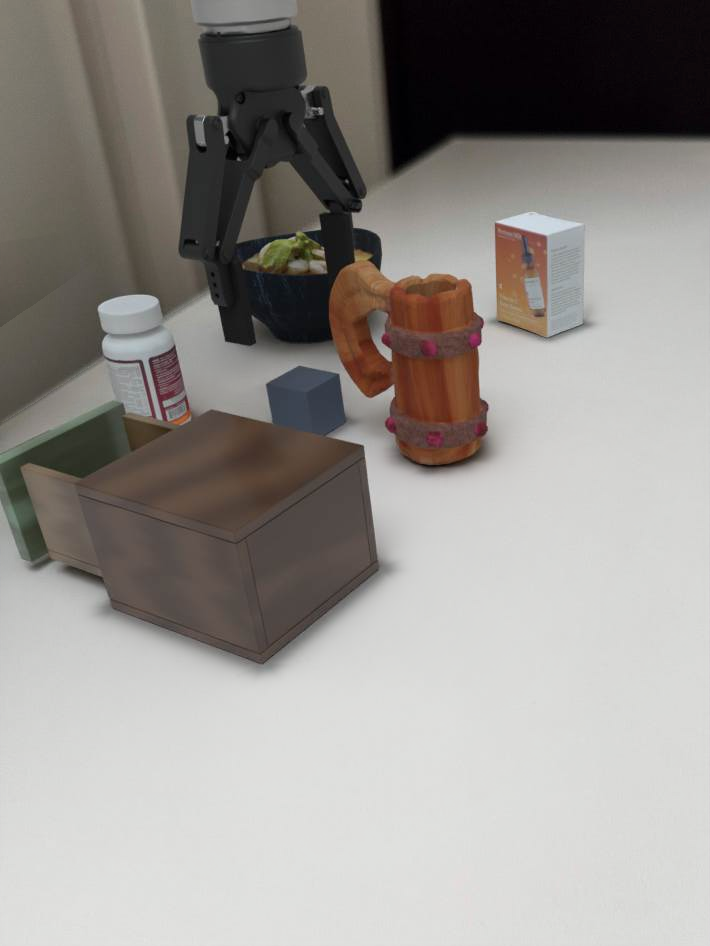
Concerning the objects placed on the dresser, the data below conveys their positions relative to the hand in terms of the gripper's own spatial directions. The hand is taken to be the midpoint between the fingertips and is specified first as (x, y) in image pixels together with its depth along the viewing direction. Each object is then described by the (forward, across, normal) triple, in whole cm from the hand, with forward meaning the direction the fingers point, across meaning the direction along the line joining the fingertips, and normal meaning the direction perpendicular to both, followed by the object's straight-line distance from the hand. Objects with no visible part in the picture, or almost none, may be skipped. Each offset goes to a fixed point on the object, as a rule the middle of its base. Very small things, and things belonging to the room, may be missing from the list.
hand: (295, 316), depth 89 cm
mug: (+10, +1, -11) cm, 15 cm away
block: (+10, 0, 0) cm, 10 cm away
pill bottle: (+10, -6, +13) cm, 18 cm away
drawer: (+9, -23, 0) cm, 25 cm away
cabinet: (+10, -23, -13) cm, 28 cm away
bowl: (+10, +20, +16) cm, 28 cm away
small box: (+10, +32, -6) cm, 34 cm away
